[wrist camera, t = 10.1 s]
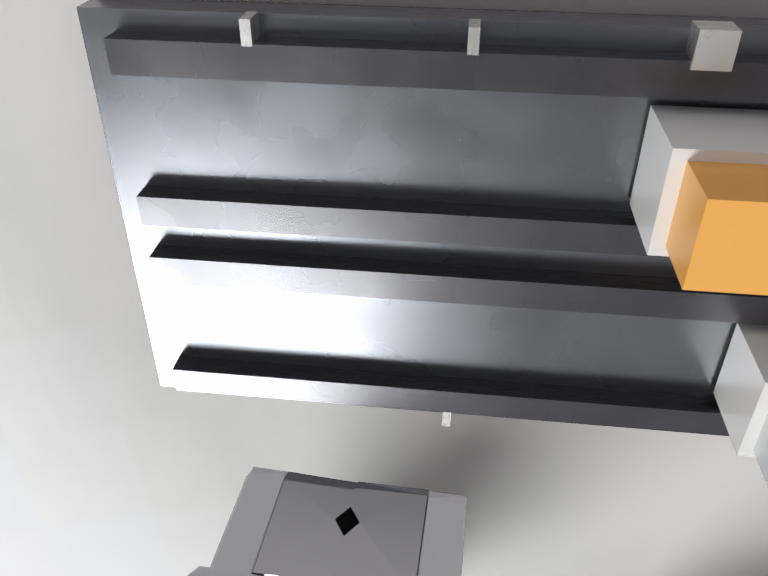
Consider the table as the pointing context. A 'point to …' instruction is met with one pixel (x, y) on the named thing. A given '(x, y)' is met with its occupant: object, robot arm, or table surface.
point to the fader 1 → (706, 196)
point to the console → (415, 203)
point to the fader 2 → (746, 392)
